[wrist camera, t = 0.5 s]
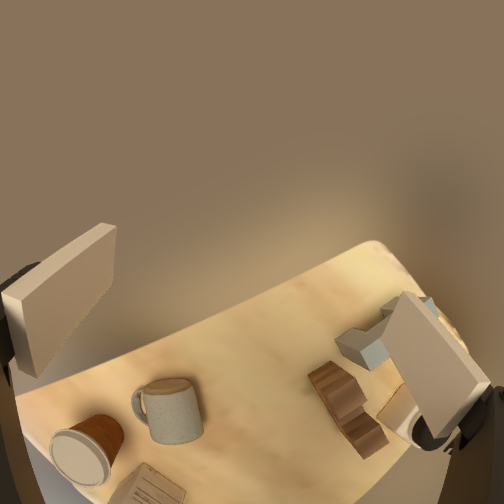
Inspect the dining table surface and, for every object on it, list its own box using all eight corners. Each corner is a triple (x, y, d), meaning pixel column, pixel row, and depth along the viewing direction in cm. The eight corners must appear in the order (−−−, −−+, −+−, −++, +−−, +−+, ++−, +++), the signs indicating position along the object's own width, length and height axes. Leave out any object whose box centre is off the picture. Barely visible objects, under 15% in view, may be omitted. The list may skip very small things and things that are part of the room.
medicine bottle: (399, 434, 41) (435, 462, 29) (375, 417, 42) (410, 446, 30) (425, 401, 42) (466, 422, 30) (402, 382, 43) (443, 403, 31)
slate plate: (403, 312, 44) (439, 316, 34) (343, 356, 43) (370, 371, 33) (395, 297, 44) (431, 296, 34) (334, 339, 43) (360, 351, 33)
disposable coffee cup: (124, 463, 39) (99, 501, 27) (76, 435, 39) (42, 464, 27) (140, 424, 40) (115, 459, 28) (89, 394, 40) (52, 419, 28)
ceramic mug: (195, 373, 41) (186, 389, 34) (207, 422, 40) (201, 445, 33) (129, 379, 41) (109, 394, 33) (141, 427, 40) (125, 448, 32)
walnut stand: (362, 418, 42) (389, 442, 32) (341, 431, 41) (363, 459, 31) (330, 360, 43) (355, 377, 33) (307, 375, 42) (326, 396, 32)
